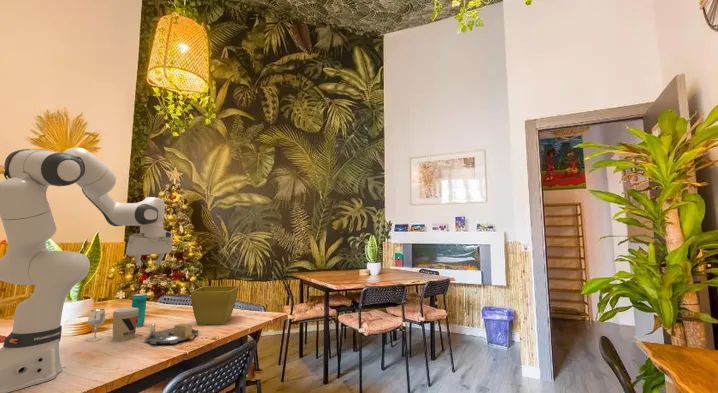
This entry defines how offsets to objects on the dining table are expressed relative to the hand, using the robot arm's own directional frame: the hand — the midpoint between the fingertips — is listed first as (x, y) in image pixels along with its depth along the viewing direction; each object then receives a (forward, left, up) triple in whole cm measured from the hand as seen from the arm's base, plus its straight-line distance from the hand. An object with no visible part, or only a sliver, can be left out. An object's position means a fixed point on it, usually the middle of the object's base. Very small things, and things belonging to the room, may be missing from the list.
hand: (149, 264), depth 146 cm
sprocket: (+3, -13, -31) cm, 34 cm away
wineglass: (-8, +17, -31) cm, 37 cm away
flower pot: (+32, -10, -31) cm, 46 cm away
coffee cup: (-3, +7, -31) cm, 32 cm away
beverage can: (+13, +19, -31) cm, 39 cm away
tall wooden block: (+3, -18, -29) cm, 34 cm away
